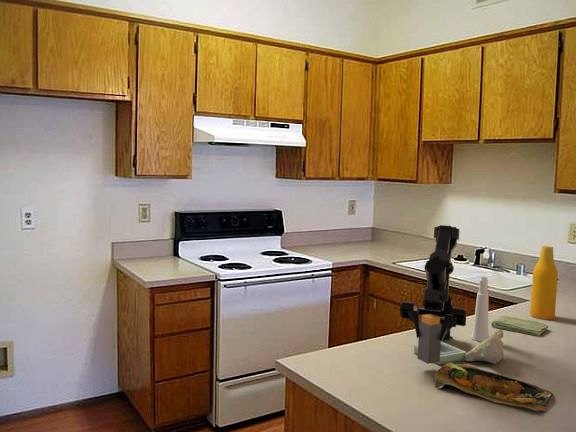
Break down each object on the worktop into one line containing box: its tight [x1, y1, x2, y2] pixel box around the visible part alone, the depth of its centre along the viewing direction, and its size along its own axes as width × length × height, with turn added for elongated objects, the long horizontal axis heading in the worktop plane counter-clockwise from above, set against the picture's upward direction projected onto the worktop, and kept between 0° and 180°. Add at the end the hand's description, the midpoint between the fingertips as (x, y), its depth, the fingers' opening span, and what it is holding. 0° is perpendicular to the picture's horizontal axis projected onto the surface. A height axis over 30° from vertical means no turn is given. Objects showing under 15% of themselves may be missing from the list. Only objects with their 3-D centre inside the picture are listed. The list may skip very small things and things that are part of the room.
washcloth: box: [491, 315, 549, 337], centre depth 199 cm, size 13×18×3 cm
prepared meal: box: [433, 363, 553, 413], centre depth 141 cm, size 28×4×18 cm
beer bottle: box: [529, 245, 559, 321], centre depth 215 cm, size 9×9×29 cm
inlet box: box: [413, 341, 467, 366], centre depth 165 cm, size 11×11×3 cm
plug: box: [417, 314, 442, 365], centre depth 153 cm, size 4×4×13 cm
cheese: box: [465, 329, 505, 365], centre depth 162 cm, size 15×7×15 cm
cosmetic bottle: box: [470, 275, 490, 343], centre depth 183 cm, size 6×6×22 cm
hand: (429, 339), depth 151 cm, fingers closed on plug, 6 cm apart
